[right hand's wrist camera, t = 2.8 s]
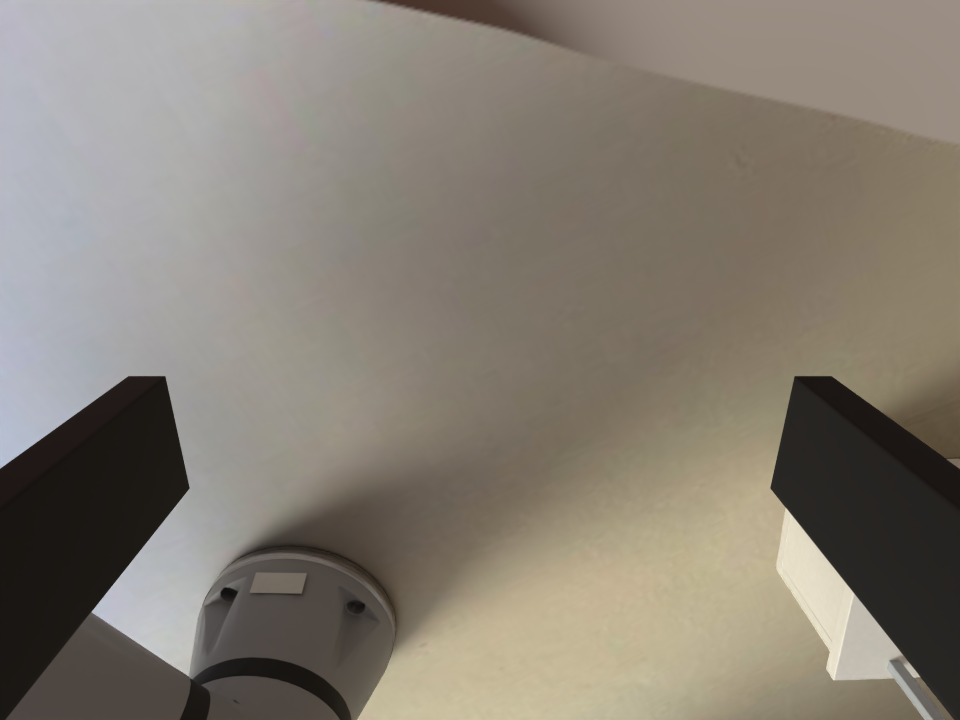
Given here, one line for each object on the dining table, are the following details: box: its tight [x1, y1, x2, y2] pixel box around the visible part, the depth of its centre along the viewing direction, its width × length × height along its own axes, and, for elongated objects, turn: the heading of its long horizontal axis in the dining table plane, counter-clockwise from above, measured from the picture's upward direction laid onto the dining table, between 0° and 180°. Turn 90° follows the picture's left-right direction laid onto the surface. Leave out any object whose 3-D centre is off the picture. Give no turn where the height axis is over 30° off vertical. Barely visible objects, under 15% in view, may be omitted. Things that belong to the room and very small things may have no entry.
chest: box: [776, 458, 960, 650], centre depth 40 cm, size 13×9×9 cm
